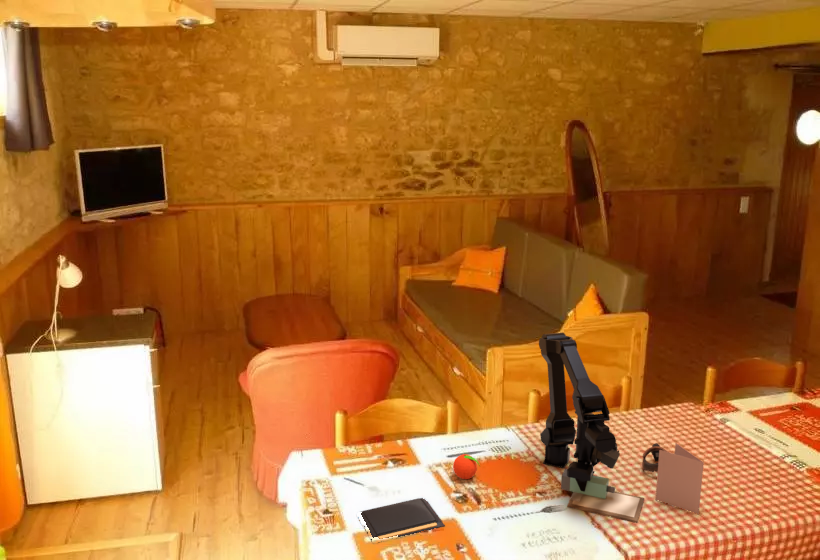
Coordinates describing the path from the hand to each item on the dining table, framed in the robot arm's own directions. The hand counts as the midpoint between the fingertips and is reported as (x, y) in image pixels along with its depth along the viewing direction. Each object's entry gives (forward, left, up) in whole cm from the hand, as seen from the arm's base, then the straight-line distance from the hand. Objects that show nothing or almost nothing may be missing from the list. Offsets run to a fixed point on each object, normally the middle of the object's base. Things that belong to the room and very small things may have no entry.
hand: (584, 487), depth 196 cm
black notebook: (-41, -32, -3) cm, 52 cm away
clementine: (-33, -5, -2) cm, 33 cm away
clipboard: (+6, -2, -2) cm, 7 cm away
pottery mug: (+17, +23, -3) cm, 29 cm away
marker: (0, 0, -1) cm, 1 cm away
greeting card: (+23, +5, -2) cm, 24 cm away
